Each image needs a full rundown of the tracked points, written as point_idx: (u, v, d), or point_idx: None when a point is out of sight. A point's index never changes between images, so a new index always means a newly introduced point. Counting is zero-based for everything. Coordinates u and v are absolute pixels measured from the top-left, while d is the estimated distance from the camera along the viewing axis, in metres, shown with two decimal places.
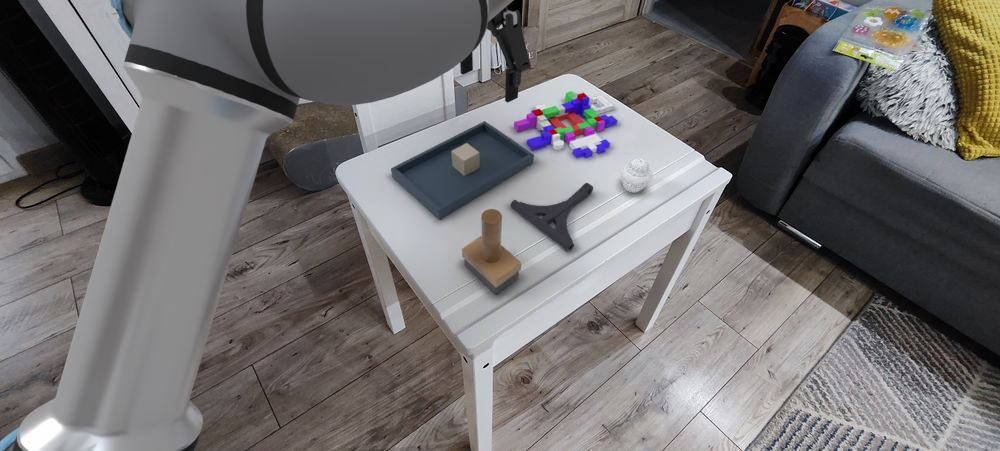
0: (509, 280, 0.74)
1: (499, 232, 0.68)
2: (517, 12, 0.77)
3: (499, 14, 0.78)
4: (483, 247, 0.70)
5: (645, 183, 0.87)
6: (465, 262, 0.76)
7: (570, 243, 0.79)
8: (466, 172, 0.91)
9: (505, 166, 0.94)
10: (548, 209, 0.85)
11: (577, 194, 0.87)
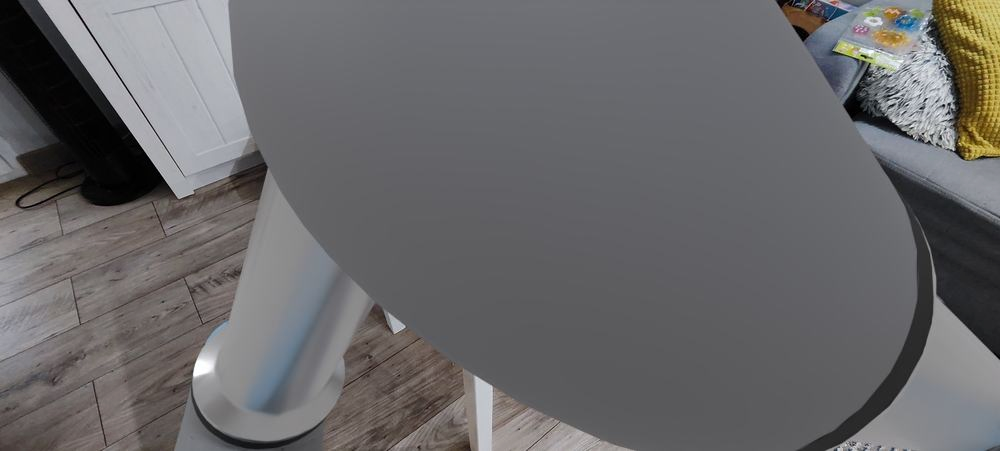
0: None
1: None
2: None
3: None
4: None
5: None
6: None
7: None
8: None
9: None
10: None
11: None
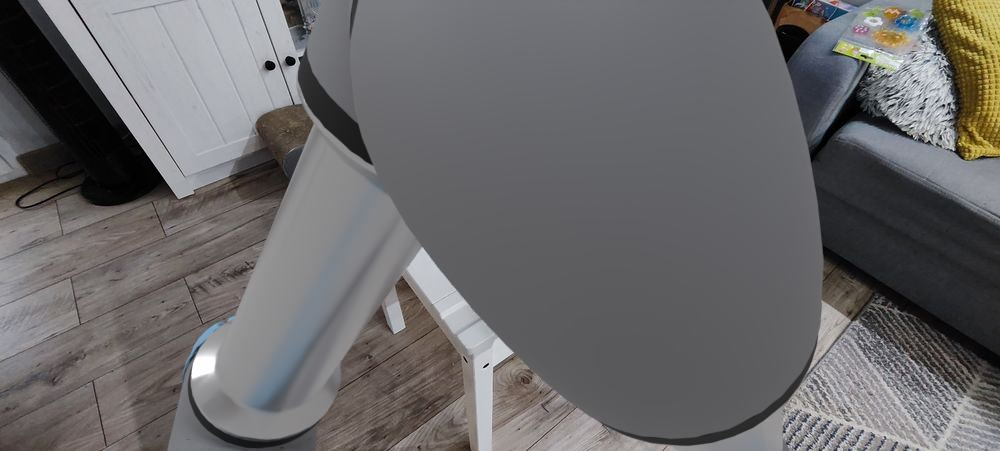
0: None
1: None
2: None
3: None
4: None
5: None
6: None
7: None
8: None
9: None
10: None
11: None
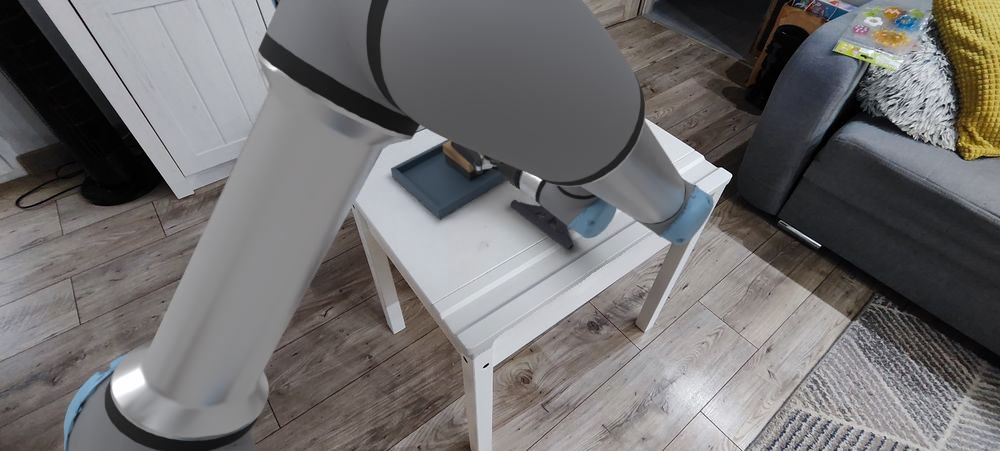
0: None
1: None
2: (477, 171, 0.78)
3: (491, 159, 0.78)
4: None
5: None
6: (446, 157, 0.93)
7: (570, 243, 0.79)
8: None
9: None
10: None
11: None
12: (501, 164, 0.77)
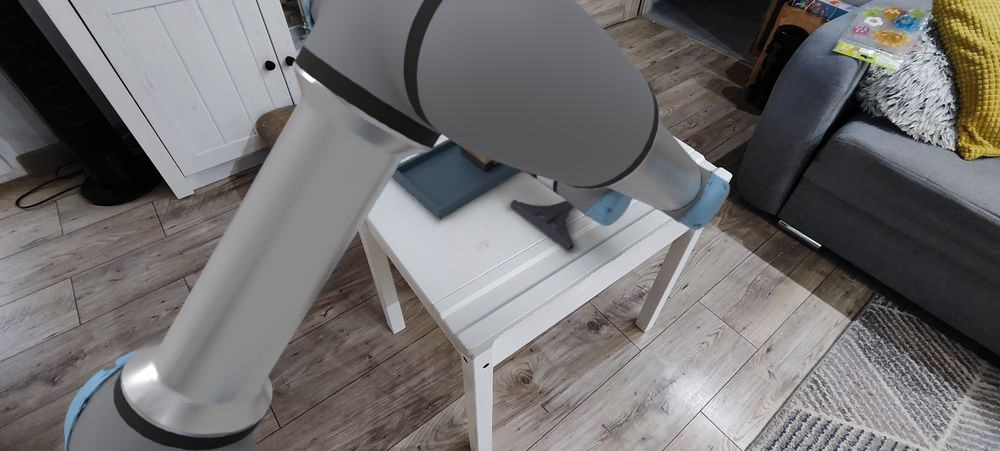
0: None
1: None
2: (495, 162, 0.80)
3: None
4: None
5: None
6: (461, 150, 0.95)
7: (570, 243, 0.79)
8: None
9: (505, 166, 0.94)
10: (548, 209, 0.85)
11: None
12: None
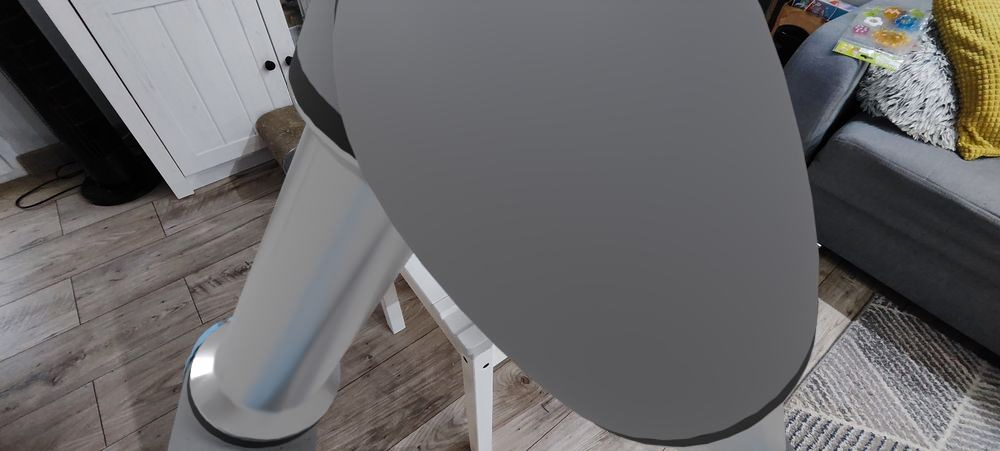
0: None
1: None
2: None
3: None
4: None
5: None
6: None
7: None
8: None
9: None
10: None
11: None
12: None
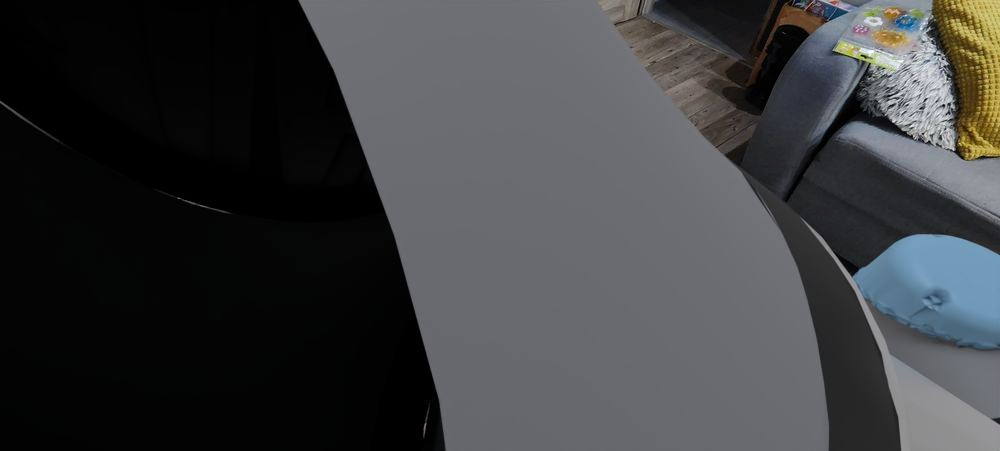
0: None
1: None
2: None
3: None
4: None
5: None
6: None
7: None
8: None
9: None
10: None
11: None
12: None
